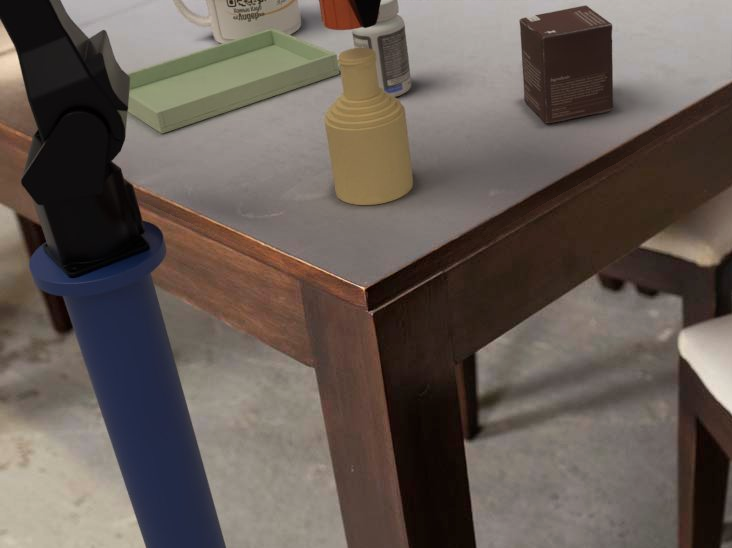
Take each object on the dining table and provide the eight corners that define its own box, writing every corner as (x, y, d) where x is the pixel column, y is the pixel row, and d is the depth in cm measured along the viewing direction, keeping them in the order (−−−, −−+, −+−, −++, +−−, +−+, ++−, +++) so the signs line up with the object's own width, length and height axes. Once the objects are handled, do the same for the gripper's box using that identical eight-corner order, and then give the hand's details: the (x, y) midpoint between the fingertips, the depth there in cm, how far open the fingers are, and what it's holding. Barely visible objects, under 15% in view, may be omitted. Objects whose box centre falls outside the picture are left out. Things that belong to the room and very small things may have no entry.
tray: (161, 134, 100) (156, 112, 99) (109, 99, 109) (104, 80, 108) (339, 74, 107) (336, 53, 106) (276, 46, 117) (273, 27, 116)
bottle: (377, 212, 82) (358, 73, 76) (319, 195, 85) (297, 61, 79) (429, 180, 85) (415, 45, 79) (371, 165, 89) (354, 35, 83)
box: (614, 112, 91) (614, 23, 87) (544, 126, 91) (541, 37, 87) (589, 88, 96) (587, 3, 92) (522, 101, 96) (518, 16, 92)
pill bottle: (413, 79, 104) (403, -12, 99) (409, 97, 100) (399, 3, 95) (363, 83, 104) (351, -7, 100) (357, 102, 100) (344, 8, 96)
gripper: (514, -250, 65) (526, 15, 74) (350, -253, 79) (377, -29, 88) (356, -215, 61) (389, 61, 70) (211, -225, 75) (254, 8, 84)
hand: (353, 20), depth 78 cm, fingers closed on cap, 4 cm apart
